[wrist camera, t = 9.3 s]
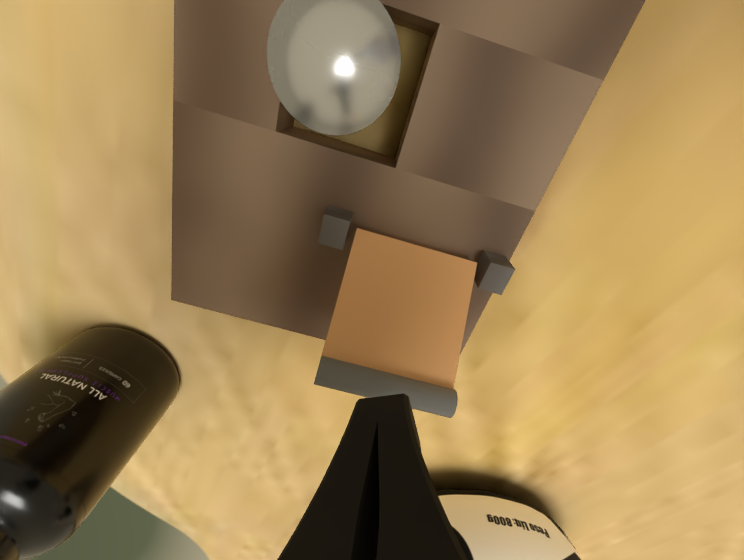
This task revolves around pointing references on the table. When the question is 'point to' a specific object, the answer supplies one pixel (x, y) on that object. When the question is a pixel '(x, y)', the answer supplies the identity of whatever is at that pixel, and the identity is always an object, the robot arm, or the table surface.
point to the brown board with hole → (368, 168)
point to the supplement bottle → (75, 432)
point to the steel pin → (334, 62)
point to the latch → (398, 323)
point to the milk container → (503, 528)
